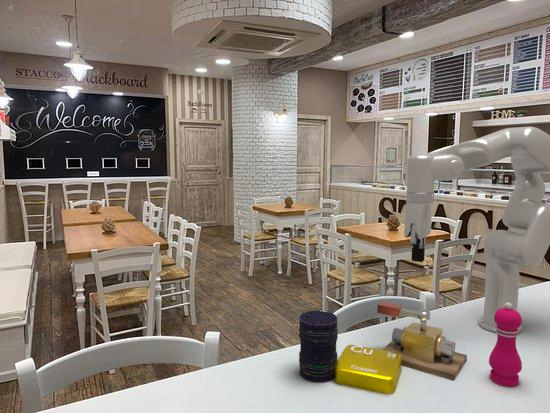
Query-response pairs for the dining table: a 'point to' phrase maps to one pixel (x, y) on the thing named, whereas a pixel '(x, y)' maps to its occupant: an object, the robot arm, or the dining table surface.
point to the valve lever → (401, 311)
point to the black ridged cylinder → (318, 346)
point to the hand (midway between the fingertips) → (417, 260)
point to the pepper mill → (506, 347)
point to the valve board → (433, 368)
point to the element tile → (368, 369)
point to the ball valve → (423, 342)
